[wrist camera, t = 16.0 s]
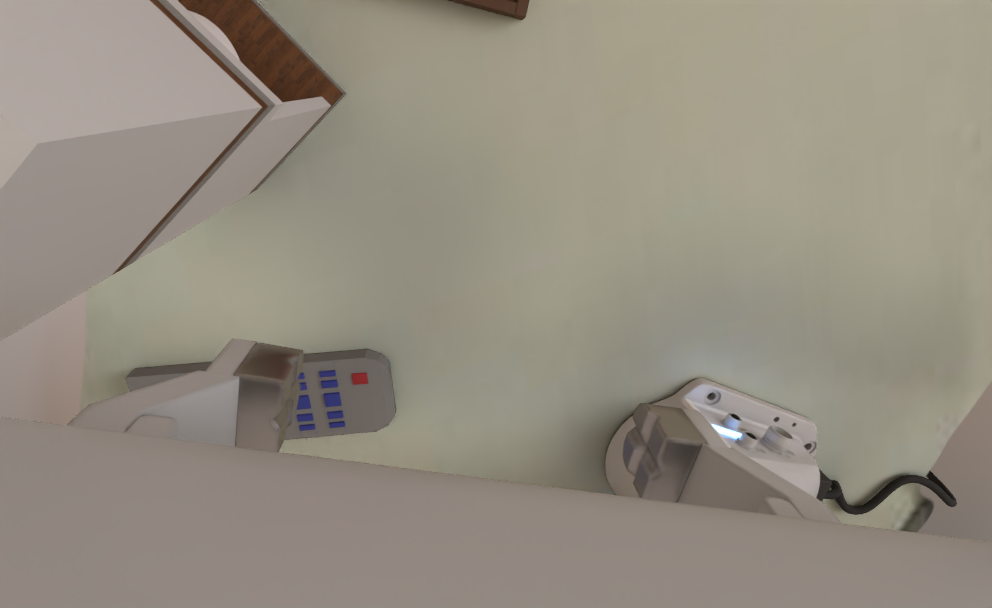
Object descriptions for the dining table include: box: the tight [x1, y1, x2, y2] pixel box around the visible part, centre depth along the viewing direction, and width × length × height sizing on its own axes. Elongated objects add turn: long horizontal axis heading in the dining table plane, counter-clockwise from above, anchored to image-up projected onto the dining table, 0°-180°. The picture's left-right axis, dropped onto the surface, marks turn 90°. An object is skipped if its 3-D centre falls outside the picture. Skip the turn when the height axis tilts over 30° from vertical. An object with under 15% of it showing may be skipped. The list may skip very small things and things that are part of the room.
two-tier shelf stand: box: [0, 0, 346, 341], centre depth 26 cm, size 11×11×35 cm
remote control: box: [125, 349, 396, 440], centre depth 51 cm, size 8×23×2 cm, turn 93°
